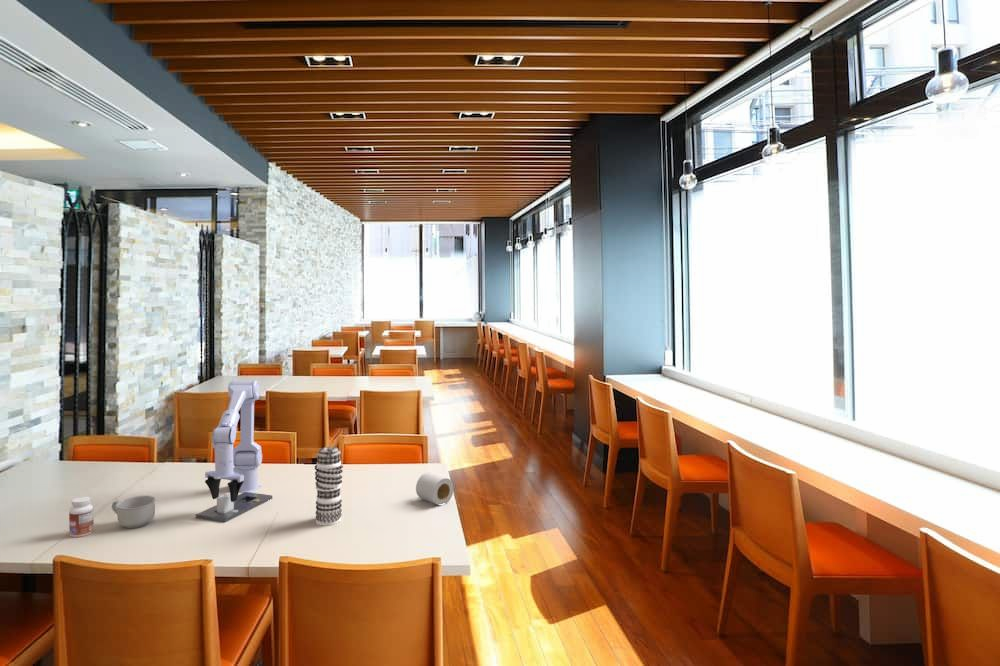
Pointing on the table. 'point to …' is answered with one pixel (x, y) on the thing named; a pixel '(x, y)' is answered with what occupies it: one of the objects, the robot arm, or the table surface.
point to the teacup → (135, 510)
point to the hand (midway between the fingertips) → (224, 499)
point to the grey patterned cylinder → (328, 486)
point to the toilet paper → (434, 488)
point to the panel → (235, 507)
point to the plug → (224, 503)
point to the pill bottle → (81, 517)
